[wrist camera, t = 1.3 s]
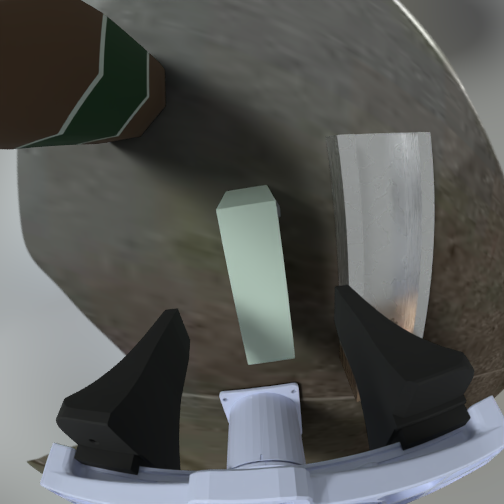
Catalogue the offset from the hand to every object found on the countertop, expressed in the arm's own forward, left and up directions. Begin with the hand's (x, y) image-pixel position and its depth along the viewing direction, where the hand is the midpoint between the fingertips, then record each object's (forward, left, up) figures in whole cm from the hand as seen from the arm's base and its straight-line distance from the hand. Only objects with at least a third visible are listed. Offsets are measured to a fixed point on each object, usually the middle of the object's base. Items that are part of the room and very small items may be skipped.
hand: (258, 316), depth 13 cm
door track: (-3, -10, -10) cm, 15 cm away
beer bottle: (+13, +8, -10) cm, 19 cm away
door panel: (-1, 0, -10) cm, 10 cm away
